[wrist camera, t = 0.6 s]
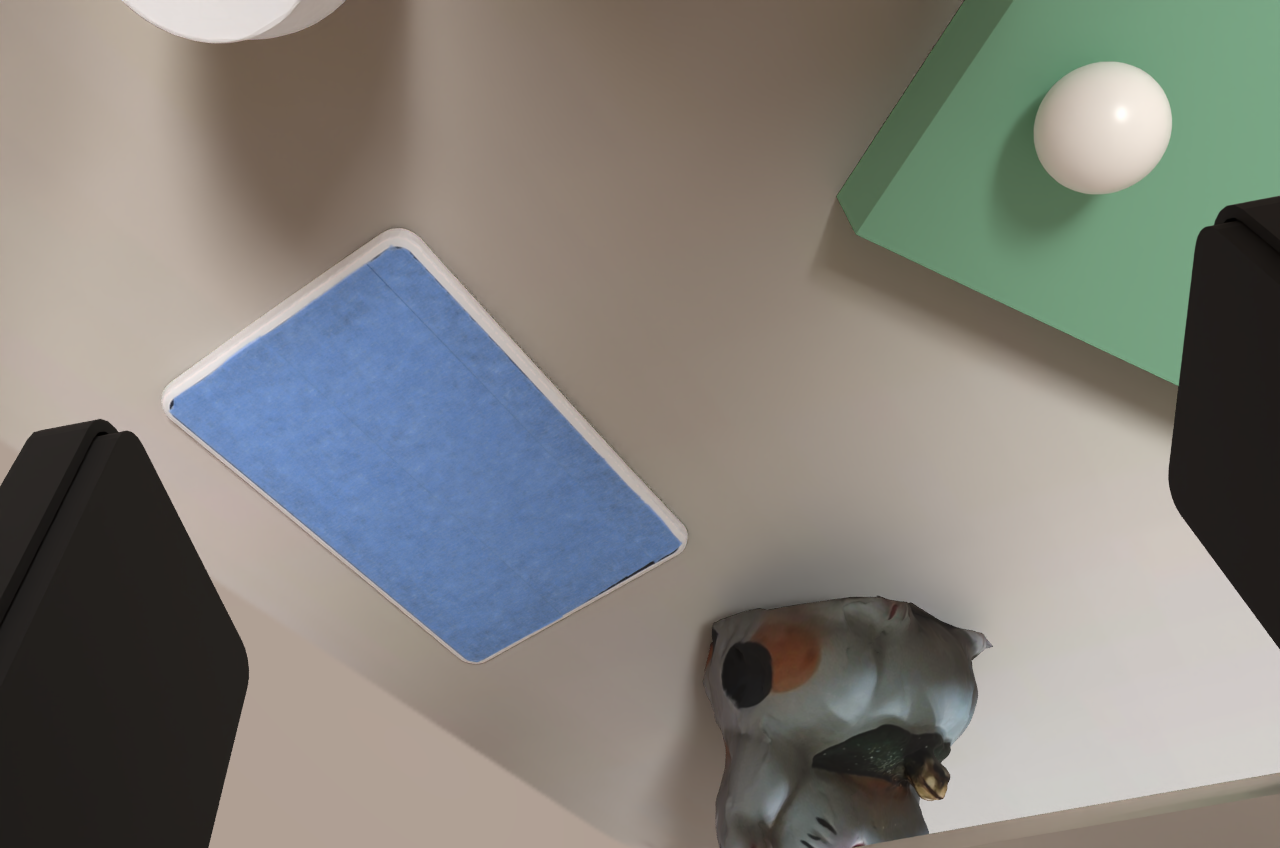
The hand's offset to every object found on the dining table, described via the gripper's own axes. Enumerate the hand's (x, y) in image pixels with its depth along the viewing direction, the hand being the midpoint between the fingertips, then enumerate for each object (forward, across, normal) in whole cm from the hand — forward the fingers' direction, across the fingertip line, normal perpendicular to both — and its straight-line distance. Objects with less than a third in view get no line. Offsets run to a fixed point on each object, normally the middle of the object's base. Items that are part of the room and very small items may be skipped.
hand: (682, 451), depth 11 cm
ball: (+28, -15, +10) cm, 33 cm away
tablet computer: (+32, +9, +22) cm, 40 cm away
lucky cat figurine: (+32, -6, +37) cm, 49 cm away
